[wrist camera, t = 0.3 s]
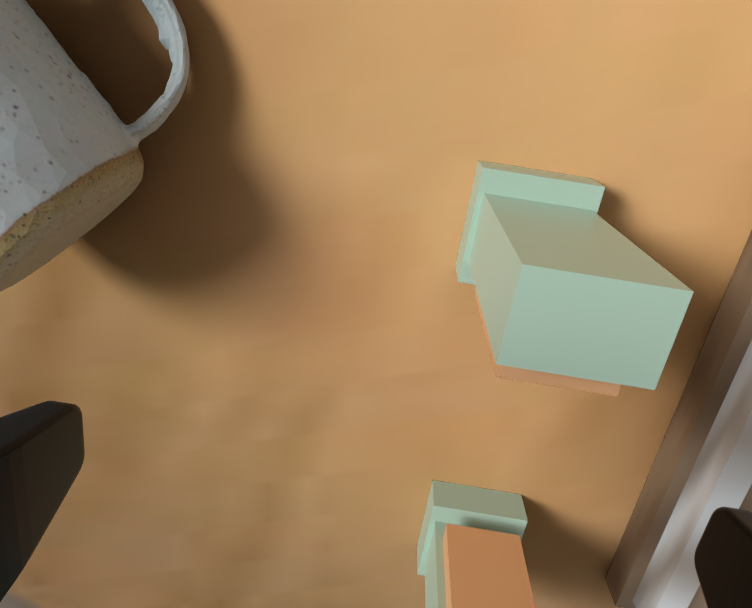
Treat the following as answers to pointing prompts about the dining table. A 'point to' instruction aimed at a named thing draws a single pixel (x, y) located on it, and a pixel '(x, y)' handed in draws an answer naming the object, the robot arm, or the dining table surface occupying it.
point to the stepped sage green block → (473, 549)
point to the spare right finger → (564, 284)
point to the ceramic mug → (66, 138)
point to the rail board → (694, 464)
